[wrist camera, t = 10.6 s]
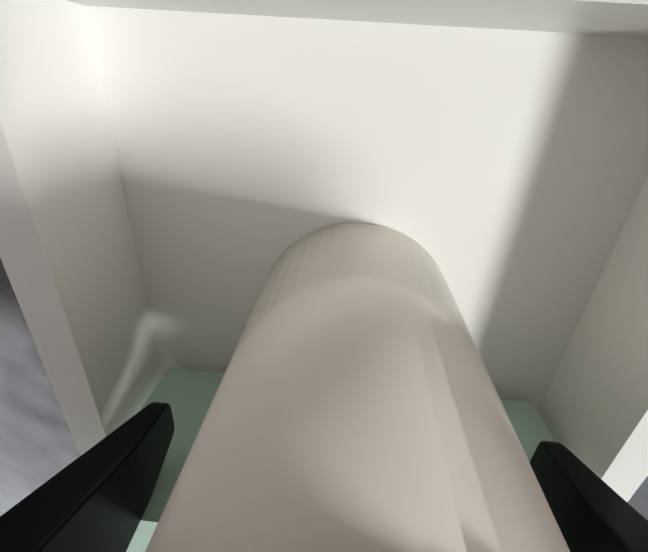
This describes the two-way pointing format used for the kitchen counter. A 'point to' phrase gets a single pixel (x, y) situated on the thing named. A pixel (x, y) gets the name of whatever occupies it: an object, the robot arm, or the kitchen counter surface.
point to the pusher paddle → (192, 406)
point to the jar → (356, 419)
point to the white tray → (332, 186)
